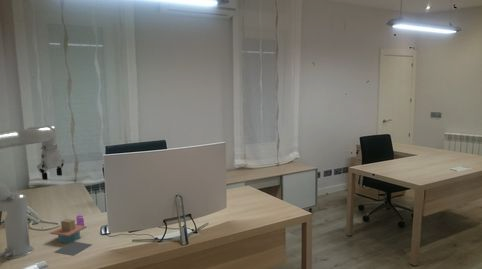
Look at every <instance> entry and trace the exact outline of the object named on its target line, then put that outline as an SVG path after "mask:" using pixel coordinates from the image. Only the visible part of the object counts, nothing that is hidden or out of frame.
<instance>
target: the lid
mask: <svg viewBox="0 0 482 269" xmlns="http://www.w3.org/2000/svg"><path fill="white" fill-rule="evenodd" d="M60 223H61V227H58V228H57V229H55V230H53V231H50V232H49V233H50V235H54V236H55V235H56V236H58V235H61V236H68V237H69V236H71V235H73V234H75V233H77V232H79V231H83V230H85V229H86V228H87V226H86V225H84V226H80V225H75V224H76V221H75V219H70V218H65V219H63V220H61V221H60Z"/></svg>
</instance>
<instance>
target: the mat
mask: <svg viewBox="0 0 482 269" xmlns="http://www.w3.org/2000/svg"><path fill="white" fill-rule="evenodd" d="M92 246H93V244H91V243H85V242H79V241H72V242H69V243H68V244H65V246H62V247H61V248H59V249H57V250H55V251H53V253H55V254H61V255H67V256H71V257H72V256H73V257H74V256H76V255H78V254H79V253H81V252H83V251H84V250H86V249H88V248H89V247H92Z"/></svg>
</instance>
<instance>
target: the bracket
mask: <svg viewBox="0 0 482 269" xmlns="http://www.w3.org/2000/svg"><path fill="white" fill-rule="evenodd" d="M75 219H76V223H75V225H80V226H85V220H84V215H82V214H78V215H76V218H75Z"/></svg>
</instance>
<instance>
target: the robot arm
mask: <svg viewBox="0 0 482 269" xmlns="http://www.w3.org/2000/svg"><path fill="white" fill-rule="evenodd" d="M33 144H41V147H40V150H41V152H40V153H41V154H40V163H39V164H38V165H36V168H37V170H38V172H40V173H41V178H42V179H41V180H44V181H45V180H46V181H48V172H47V171H48V170H50V169H55V168H56V169H55V170H56V175H57V176H60V177H62V176H63V173H62V172H63V171H62V170H63V167H64V164H65V159H62V154H61V152H60V148H58V138H57V129H56V126H55V125H42V126H31V127H30V126H29V127H28V128H26V129H23V128H17V129H16V128H15V129H7V130H5V129H4V130H0V150H3V149H9V148H14V147H21V146H27V145H28V146H29V145H33ZM28 204H29V200H28V197H27V196H26V195H25V194H24V193H20V192H12V191H11V190H10V187H9V186H8V185H7V184H5V183H4V182H2V181H0V212H5V213H6V216H5V217H4V228H5V229H4V231H5V239H6V248H4V251H2V252H1V253H0V259H1V258H3V257H4V259H6V260H14V259H19V258H23V257H26V256H28V255H29V256H30V254H32V253H33V252H34V250H35V248H34V246H32V245H31V243H30V234H29V233H30V231H29V222H28Z"/></svg>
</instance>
